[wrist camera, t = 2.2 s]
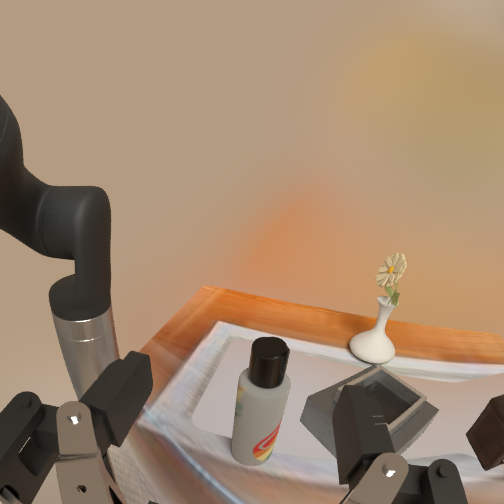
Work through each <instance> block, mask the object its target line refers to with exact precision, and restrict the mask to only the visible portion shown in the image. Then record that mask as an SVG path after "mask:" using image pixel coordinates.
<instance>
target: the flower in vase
mask: <svg viewBox="0 0 504 504" xmlns="http://www.w3.org/2000/svg"><path fill="white" fill-rule="evenodd" d="M398 255H399V254H398V253H396V254H393V255H392V256H391V258H390V257H387V258H386V261H385V262H383V265H382V267H380V268H379V269H378V271H379V272H380V273H379V274H378V275H377V276H376V281H378V282H379V283H378V286H381V287H383V286H384V285H385V290H386V292H387V293H388V294H389V296H390V297H387V296H380V297H378V298H377V300H378V302H379V314H378V319H377V322H376V325H375V327H374V328H373V329H371V330H368V331H365V332H362V333H359V334H357V335H355V336H354V337H353V338H352V339H351V340H350V343H349V345H350V348H351V351H352V352H353V354H354V355H355V356H357V357H358V358H360V359H361V360H364V361H366V362H369V363H375V364H382V363H386V362H388V361H390V360H391V359H393V357H394V355H395V348H394V346H393V344H392V342H391V341H390V339H389V338H388V337H387V336H386V334H385V331H384V330H385V325H386V322H387V319H388V317H389V315H390V313H391V312H392V310H393V309H394V308H395V307H396V306H398V304H399V303H398V298H399V293H396V292H397V279H398V278H401V277H402V273H403V272H404V271H405V268H406V266H407V264H405V263H406V259H405V256H403V253H402V254H401V255H399V257H398ZM393 283H396V290H395V293H394V291H393V289H392V288H391V285H392V284H393Z"/></svg>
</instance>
